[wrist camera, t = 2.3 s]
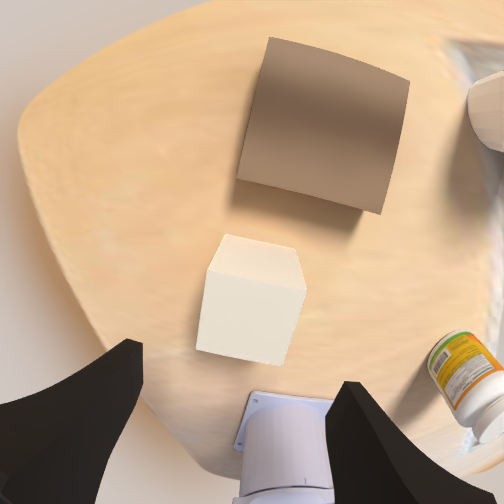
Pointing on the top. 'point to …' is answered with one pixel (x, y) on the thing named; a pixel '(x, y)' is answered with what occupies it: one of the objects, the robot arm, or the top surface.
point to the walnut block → (324, 126)
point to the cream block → (251, 301)
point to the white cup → (488, 110)
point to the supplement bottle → (470, 383)
